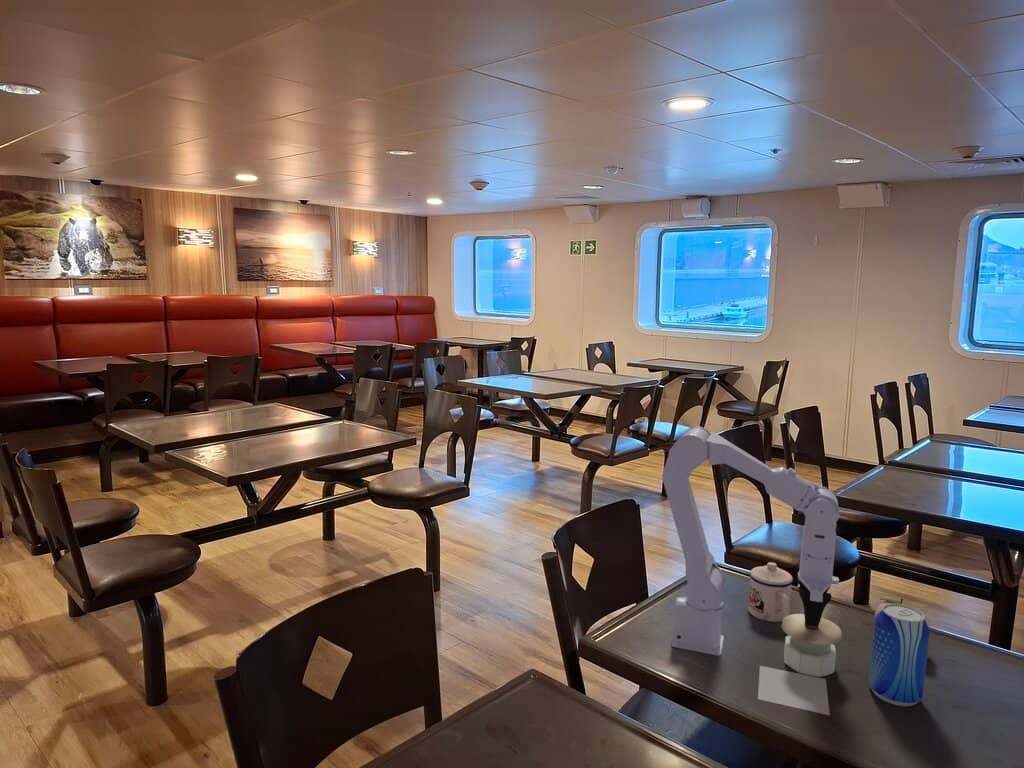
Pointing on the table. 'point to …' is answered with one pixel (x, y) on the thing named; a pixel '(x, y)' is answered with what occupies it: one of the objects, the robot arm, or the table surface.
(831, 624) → the lid
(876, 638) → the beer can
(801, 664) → the bowl
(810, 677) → the mat
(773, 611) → the teacup with lid
